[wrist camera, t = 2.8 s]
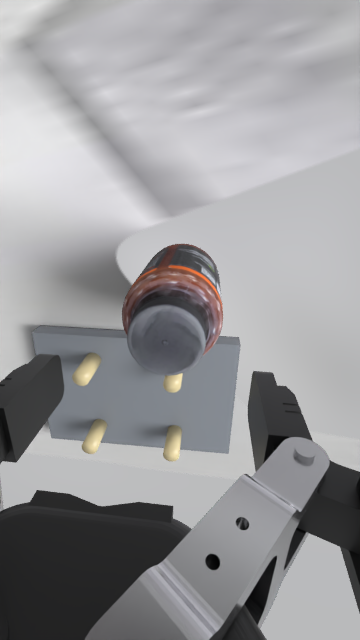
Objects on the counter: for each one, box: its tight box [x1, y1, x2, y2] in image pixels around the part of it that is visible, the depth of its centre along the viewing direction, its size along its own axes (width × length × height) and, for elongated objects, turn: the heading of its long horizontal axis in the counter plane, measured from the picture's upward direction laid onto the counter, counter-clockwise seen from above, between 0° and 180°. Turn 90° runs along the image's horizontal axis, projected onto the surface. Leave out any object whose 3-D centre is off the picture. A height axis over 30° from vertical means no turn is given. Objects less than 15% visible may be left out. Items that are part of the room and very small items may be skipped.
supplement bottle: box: [122, 244, 223, 376], centre depth 21 cm, size 6×6×11 cm
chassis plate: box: [32, 326, 240, 461], centre depth 28 cm, size 12×18×4 cm, turn 89°
